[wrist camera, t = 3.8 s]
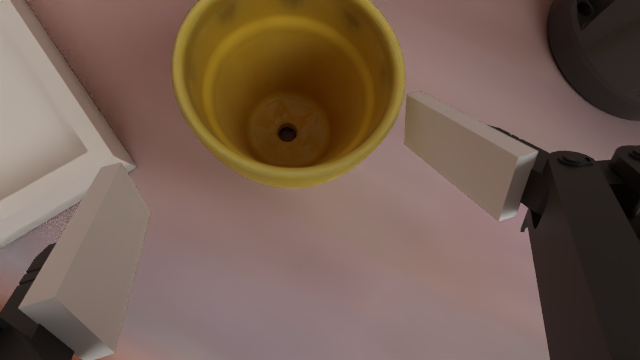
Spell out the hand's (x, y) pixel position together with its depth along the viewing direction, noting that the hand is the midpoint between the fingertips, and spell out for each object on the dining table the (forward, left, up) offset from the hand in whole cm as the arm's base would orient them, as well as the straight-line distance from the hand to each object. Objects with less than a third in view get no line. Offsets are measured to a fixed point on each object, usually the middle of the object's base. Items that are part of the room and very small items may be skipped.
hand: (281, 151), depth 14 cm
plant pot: (-2, -3, -8) cm, 9 cm away
